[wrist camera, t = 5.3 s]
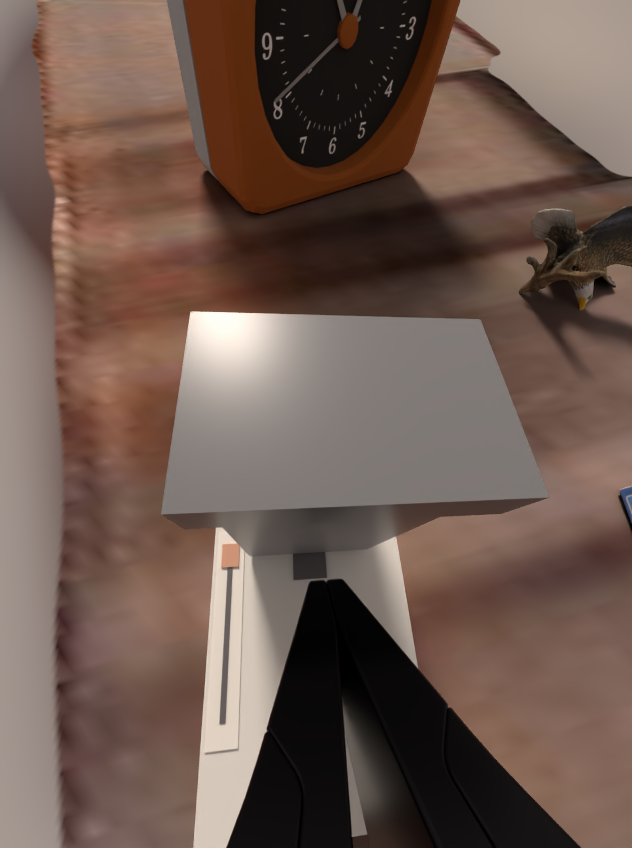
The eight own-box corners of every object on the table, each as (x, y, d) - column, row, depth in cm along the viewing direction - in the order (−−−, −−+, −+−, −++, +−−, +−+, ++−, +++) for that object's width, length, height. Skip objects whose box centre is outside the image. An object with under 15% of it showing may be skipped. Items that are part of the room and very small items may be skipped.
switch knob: (374, 556, 14) (549, 497, 5) (242, 564, 13) (161, 514, 4) (363, 475, 16) (480, 319, 6) (244, 479, 15) (190, 311, 6)
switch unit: (428, 800, 12) (476, 868, 9) (200, 836, 11) (172, 924, 8) (364, 385, 20) (378, 351, 17) (229, 385, 19) (221, 348, 16)
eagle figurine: (586, 341, 22) (700, 290, 23) (613, 211, 17) (753, 154, 18) (495, 315, 28) (586, 276, 29) (498, 216, 24) (605, 175, 25)
